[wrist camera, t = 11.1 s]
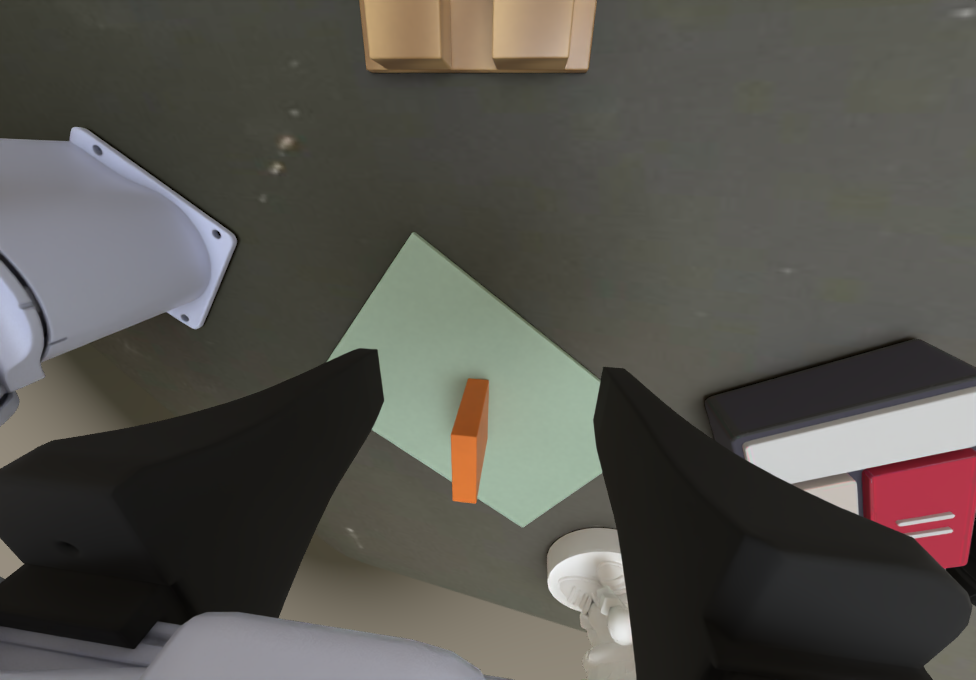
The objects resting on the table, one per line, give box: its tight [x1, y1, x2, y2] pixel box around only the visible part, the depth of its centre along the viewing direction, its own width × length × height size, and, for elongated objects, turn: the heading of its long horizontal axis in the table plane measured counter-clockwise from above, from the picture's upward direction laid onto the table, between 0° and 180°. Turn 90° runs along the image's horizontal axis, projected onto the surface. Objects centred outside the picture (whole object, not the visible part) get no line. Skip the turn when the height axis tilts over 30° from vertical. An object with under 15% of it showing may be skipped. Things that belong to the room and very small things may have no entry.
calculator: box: [705, 339, 976, 568], centre depth 22 cm, size 11×4×15 cm
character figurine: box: [547, 528, 637, 680], centre depth 25 cm, size 9×10×12 cm
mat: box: [327, 232, 602, 528], centre depth 25 cm, size 20×14×1 cm
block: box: [451, 378, 489, 503], centre depth 22 cm, size 1×5×6 cm, turn 179°
